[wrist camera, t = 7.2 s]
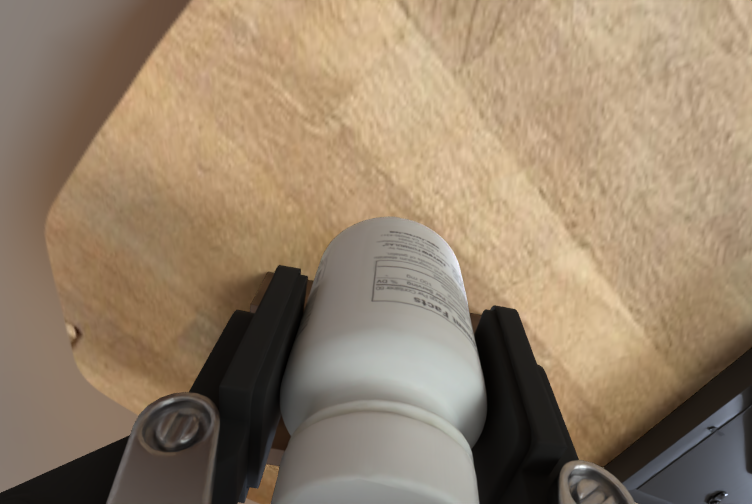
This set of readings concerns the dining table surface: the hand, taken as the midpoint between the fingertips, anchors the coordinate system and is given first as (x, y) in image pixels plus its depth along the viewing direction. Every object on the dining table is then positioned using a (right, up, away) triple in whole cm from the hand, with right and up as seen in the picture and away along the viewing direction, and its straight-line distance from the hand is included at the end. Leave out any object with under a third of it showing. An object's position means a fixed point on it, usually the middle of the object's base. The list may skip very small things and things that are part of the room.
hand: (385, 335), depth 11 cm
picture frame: (+32, -13, +25) cm, 43 cm away
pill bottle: (0, +1, +2) cm, 3 cm away
